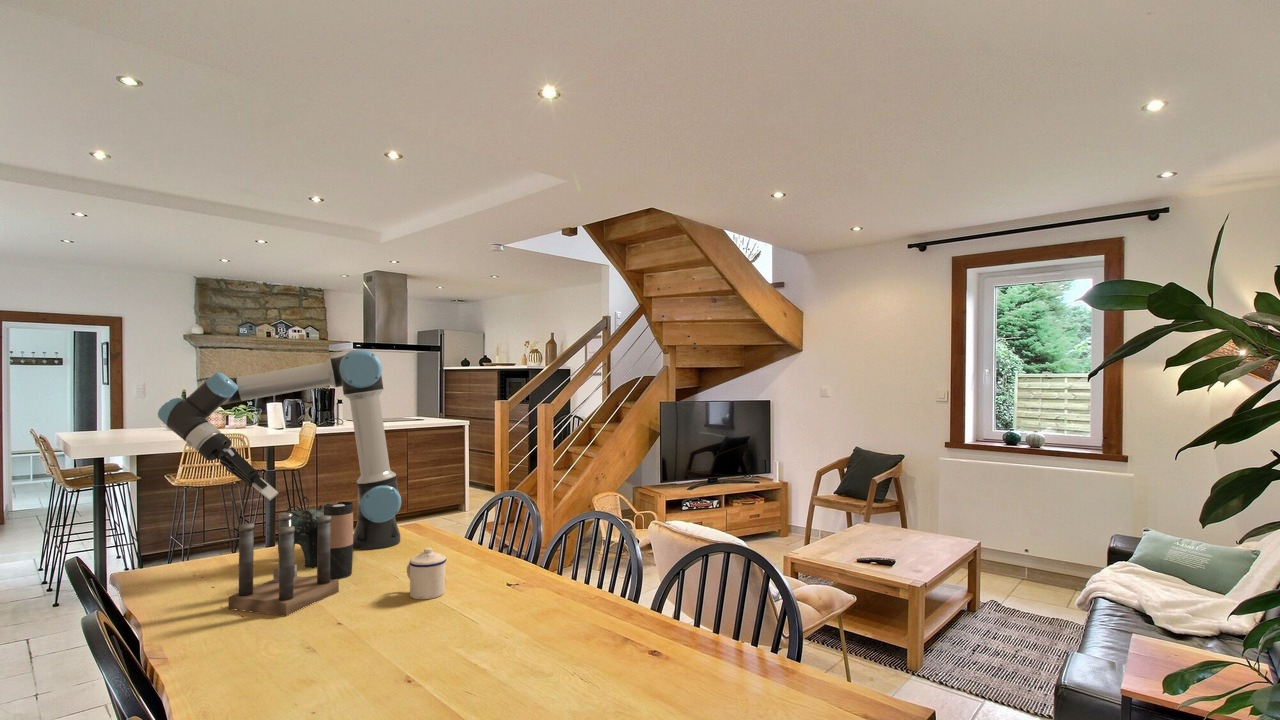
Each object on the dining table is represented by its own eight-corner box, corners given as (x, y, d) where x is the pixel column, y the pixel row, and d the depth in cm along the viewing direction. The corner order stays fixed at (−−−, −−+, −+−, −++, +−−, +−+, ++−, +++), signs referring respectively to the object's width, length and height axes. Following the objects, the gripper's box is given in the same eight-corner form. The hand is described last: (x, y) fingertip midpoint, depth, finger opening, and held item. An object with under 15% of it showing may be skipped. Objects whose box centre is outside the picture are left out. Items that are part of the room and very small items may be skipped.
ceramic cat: (329, 565, 187) (329, 497, 187) (307, 571, 182) (308, 501, 182) (291, 555, 198) (292, 491, 198) (270, 560, 192) (271, 494, 193)
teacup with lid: (453, 591, 164) (454, 546, 164) (426, 602, 156) (426, 555, 156) (421, 584, 170) (421, 540, 170) (393, 594, 162) (393, 548, 162)
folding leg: (295, 570, 167) (295, 513, 167) (285, 574, 164) (286, 515, 164) (285, 569, 168) (285, 512, 168) (275, 573, 164) (276, 515, 165)
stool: (338, 591, 164) (339, 515, 165) (286, 616, 148) (287, 530, 148) (285, 586, 169) (286, 511, 169) (228, 609, 152) (229, 526, 153)
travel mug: (344, 580, 174) (345, 506, 174) (317, 579, 174) (317, 506, 174) (357, 571, 181) (358, 501, 182) (331, 571, 181) (332, 501, 182)
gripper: (199, 460, 180) (262, 513, 180) (195, 441, 170) (262, 498, 170) (223, 442, 185) (285, 494, 185) (220, 423, 175) (285, 478, 175)
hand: (274, 496), depth 178 cm, fingers closed
